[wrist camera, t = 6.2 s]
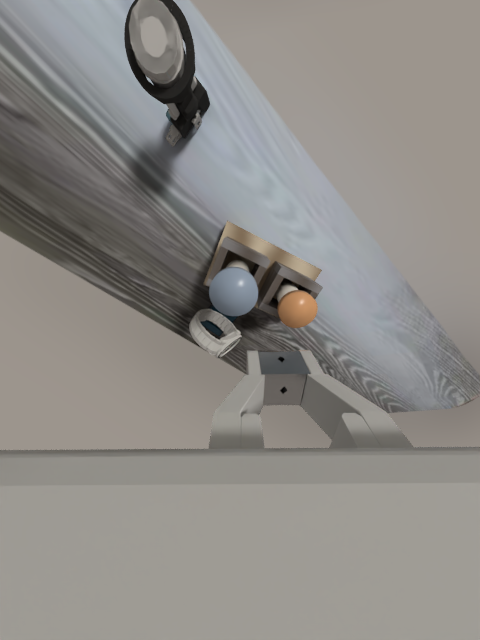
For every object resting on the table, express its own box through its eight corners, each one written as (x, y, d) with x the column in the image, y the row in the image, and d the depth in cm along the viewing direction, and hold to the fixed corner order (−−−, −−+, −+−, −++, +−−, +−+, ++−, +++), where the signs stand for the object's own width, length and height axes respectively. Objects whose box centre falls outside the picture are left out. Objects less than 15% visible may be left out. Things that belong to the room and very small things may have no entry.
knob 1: (216, 279, 25) (202, 304, 17) (228, 249, 23) (220, 260, 15) (244, 293, 26) (245, 323, 18) (259, 264, 24) (266, 282, 16)
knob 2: (264, 294, 30) (272, 319, 22) (278, 269, 28) (292, 286, 20) (287, 305, 31) (303, 333, 22) (302, 281, 29) (325, 303, 21)
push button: (188, 163, 24) (155, 126, 15) (154, 126, 23) (95, 59, 14) (221, 113, 22) (205, 35, 13) (186, 67, 21) (140, -57, 12)
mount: (205, 281, 31) (196, 294, 25) (228, 221, 27) (223, 219, 21) (285, 316, 34) (294, 336, 28) (317, 267, 30) (336, 277, 24)
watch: (229, 333, 36) (223, 373, 26) (195, 309, 34) (175, 342, 24) (247, 314, 34) (248, 348, 24) (212, 287, 32) (198, 313, 22)
